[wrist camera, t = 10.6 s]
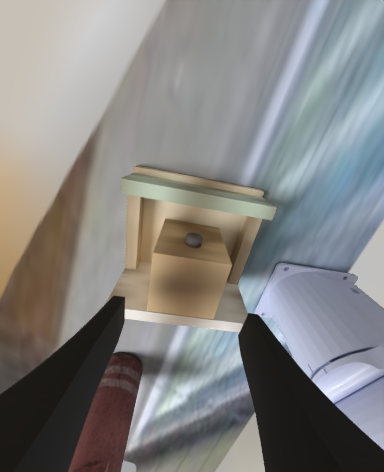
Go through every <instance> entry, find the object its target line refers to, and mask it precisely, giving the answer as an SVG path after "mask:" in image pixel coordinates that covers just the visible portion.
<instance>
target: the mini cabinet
mask: <svg viewBox="0 0 384 472" xmlns="http://www.w3.org/2000/svg"><path fill="white" fill-rule="evenodd" d="M231 267H232V263H231V260H230V258H229V255H228V252H227V249H226V246H225V244H224V241H223V238H222V235H221V233H220V230H219V228H218V227H212V226H206V225H200V224H195V223H189V222H183V221H178V220H172V219H166V218H165V221H164V224H163V226H162V229H161V232H160V235H159V237H158V240H157V243H156V246H155V248H154V251H153V256H152V265H151V274H150V283H149V292H148V301H147V310H146V311H151V312H159V313H167V314H175V315H183V316H190V317H198V318H206V319H214V316H215V313H216V310H217V308H218V305H219V302H220V299H221V296H222V293H223V290H224V287H225V284H226V282H227V279H228V276H229V273H230V270H231Z"/></svg>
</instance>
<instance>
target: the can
mask: <svg viewBox="0 0 384 472" xmlns="http://www.w3.org/2000/svg"><path fill="white" fill-rule="evenodd" d="M142 370H143V369H142V364H141V362H140V360H139V359H138V358H137V357H135V356H133V355H131V354H127V353H114V354H112V357H111V359H110V361H109V364H108V366H107V368H106V370H105V373H104V375H103V377H102V380H101V382H100V384H99V386H98V389H97V391H96V394H95V396H94V399H93V401H92V404H91V407H90V410H89V413H88V415H87V418H86V421H85V424H84V427H83V430H82V433H81V436H80V438H79V441H78V444H77V447H76V450H75V453H74V456H73V459H72V462H71V465H70V468H69V471H68V472H121V467H122V463H123V458H124V453H125V449H126V444H127V439H128V435H129V430H130V426H131V421H132V416H133V412H134V407H135V403H136V398H137V393H138V389H139V384H140V380H141V375H142Z"/></svg>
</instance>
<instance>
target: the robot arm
mask: <svg viewBox="0 0 384 472" xmlns="http://www.w3.org/2000/svg"><path fill="white" fill-rule="evenodd" d="M286 267H287V268H286ZM284 268H286V269H284ZM357 279H358V277H357V276H356V275H354V274H350V273H343V272H337V271H331V270H324V269H318V268H312V267H306V266H299V265H293V264H287V263H279V264H277V266H276V267H275V270H274V272H273V274H272V276H271V278H270V280H269V282H268V284H267V286H266V289H265V291H264V293H263V295H262V297H261V299H260V301H259V303H258V306H257V308H256V310H255V314H250V313H248V315H247V317H246V320H245V322H244V324H243V326H242V328H241V331H240V333H239V335H238V338H239V346H240V352H241V357H242V361H243V365H244V369H245V373H246V377H247V381H248V385H249V388H250V392H251V396H252V400H253V404H254V409H255V413H256V418H257V424H258V429H259V435H260V441H261V447H262V453H263V459H264V466H265V472H384V308H382V307H381V306H380V305H379V304H377V303H376V302H375V301H374V300H373V299H371V298H370V297H369V296H368V295H366V294H365V293H364V292H363V291H362V290H360V289H359V288H358V287H357V286H356V285H354V283H355V282H356V281H357ZM261 317H267V318H274V319H275V321H276V323H277V325H278V327H279V329H280V331H281V333H282V335H283V337H284V339H285V341H286V343H287V346H288V348H289V350H290V352H291V354H292V356H293V358H294V359H293V358H292V357H291V356H290V355H289V353H288V352H287V351H286V350H285V348H284V347H283V346H282V345H281V343H280V342H279V341H278V340H277V338H276V337H275V336H274V334H273V333H272V332H271V330H270V329H269V328H268V327H267V325H266V324H265V323H264V321H263V320H262V319H261ZM124 319H125V297H122V296H115V295H114V296H112V297H111V299H110V300H109V301H108V302H107V303H106V304H105V305H104V306H103V307H102V308H101V309H100V311H99V312H98V313H97V314H96V315H95V316H94V317H93V318H92V319H91V320H90V321H89V322H88V323H87V324H86V325H85V326H84V327H83V328H81V329H80V330H79V331H78V332H77V333H76V334H75V335H74V336H73V337H72V338H71V339H69V340H68V341H67V342H66V343H65V344H64V345H63V346H62V347H60V348H59V349H58V350H57V351H56V352H55V353H53V354H52V355H51V356H50V357H49V358H47V359H46V360H45V361H44V362H42V363H41V364H40V365H39V366H37V367H36V368H35V369H34V370H32V371H31V372H30V373H28V374H27V375H26V376H24V377H23V378H22V379H20V380H19V381H18V382H17V383H15V384H14V385H12V386H11V387H10V388H8V389H7V390H6V391H4V392H3V393H1V394H0V472H68V471H69V468H70V465H71V462H72V459H73V456H74V453H75V450H76V447H77V444H78V441H79V438H80V436H81V433H82V430H83V427H84V424H85V421H86V418H87V415H88V413H89V410H90V407H91V404H92V401H93V399H94V396H95V394H96V391H97V389H98V386H99V384H100V382H101V380H102V377H103V375H104V373H105V370H106V368H107V366H108V364H109V361H110V359H111V357H112V354H113V352H114V350H115V347H116V345H117V343H118V340H119V337H120V334H121V331H122V328H123V325H124ZM294 360H295V361H294Z"/></svg>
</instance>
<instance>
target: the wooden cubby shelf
mask: <svg viewBox="0 0 384 472" xmlns="http://www.w3.org/2000/svg"><path fill="white" fill-rule="evenodd" d="M121 193H122V194H127V222H126V255H125V270H124V271H123V273H122V275H121V277H120V279H119V281H118V282H117V284H116V286H115V288H114V290H113V292H112V293H111V295H110V297H109V299H108V301H109V300H110V299H111V297H112V296H114V295H115V296H122V297H125V319H133V320H141V321H149V322H158V323H166V324H174V325H183V326H191V327H199V328H208V329H216V330H224V331H233V332H240V331H241V328H242V326H243V324H244V322H245V320H246V317H247V315H248V313H247V310H246V308H245V305H244V302H243V299H242V296H241V293H240V290H239V287H238V282H239V280H240V277H241V274H242V272H243V269H244V267H245V264H246V261H247V259H248V256H249V253H250V251H251V248H252V246H253V243H254V240H255V238H256V235H257V232H258V230H259V227H260V225H261V222H262V219H266V220H273V217H274V215H275V212H276V210H277V207H276V206H274V205H273V204H271V203H270V202H268V201H267V200H265V199H264V198H262V197H263V194H264V191H262V190H260V189H256V188H250V187H245V186H240V185H235V184H230V183H225V182H220V181H214V180H209V179H204V178H199V177H194V176H189V175H184V174H179V173H173V172H168V171H163V170H158V169H153V168H148V167H143V166H134V173H132V174H130V175H128V176H125V177H123V178H121ZM165 218H166V219H172V220H178V221H183V222H189V223H195V224H200V225H206V226H212V227H218V228H219V230H220V233H221V235H222V238H223V241H224V244H225V246H226V249H227V252H228V255H229V258H230V260H231V263H232V267H231V270H230V273H229V276H228V279H227V282H226V284H225V287H224V290H223V293H222V296H221V299H220V302H219V305H218V308H217V310H216V313H215V316H214V319H206V318H198V317H190V316H183V315H175V314H167V313H159V312H151V311H146V310H147V301H148V292H149V283H150V274H151V265H152V256H153V251H154V248H155V246H156V243H157V240H158V237H159V235H160V232H161V229H162V226H163V224H164V221H165ZM108 301H107V302H108ZM107 302H106V303H107Z"/></svg>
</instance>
